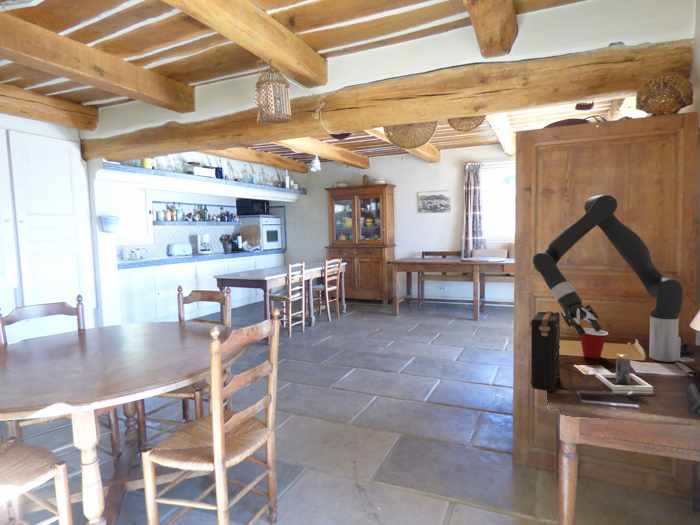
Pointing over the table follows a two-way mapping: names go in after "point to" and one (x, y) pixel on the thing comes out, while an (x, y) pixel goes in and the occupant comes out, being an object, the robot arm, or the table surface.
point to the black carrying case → (545, 350)
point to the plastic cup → (593, 342)
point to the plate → (591, 369)
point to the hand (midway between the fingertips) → (591, 332)
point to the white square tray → (625, 387)
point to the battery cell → (623, 369)
